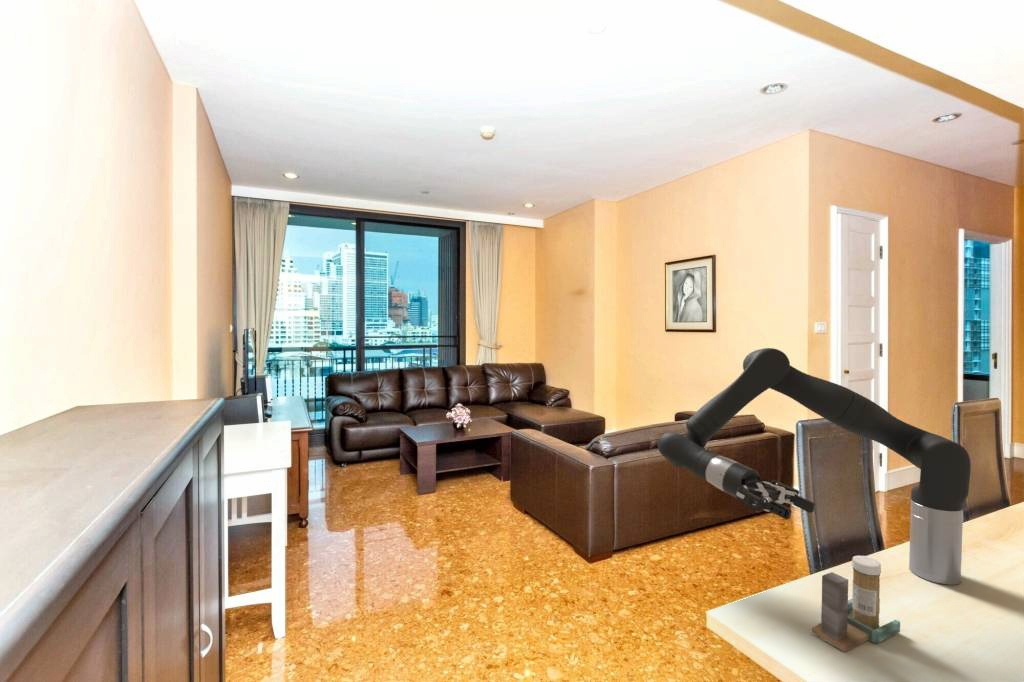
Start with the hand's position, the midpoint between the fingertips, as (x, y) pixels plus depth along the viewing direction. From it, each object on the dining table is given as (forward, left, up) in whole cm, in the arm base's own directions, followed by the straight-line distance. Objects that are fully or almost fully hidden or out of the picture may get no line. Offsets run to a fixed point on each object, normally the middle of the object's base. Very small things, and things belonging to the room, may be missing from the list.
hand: (801, 511), depth 96 cm
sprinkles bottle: (-9, +7, -23) cm, 25 cm away
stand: (-5, +7, -22) cm, 24 cm away
